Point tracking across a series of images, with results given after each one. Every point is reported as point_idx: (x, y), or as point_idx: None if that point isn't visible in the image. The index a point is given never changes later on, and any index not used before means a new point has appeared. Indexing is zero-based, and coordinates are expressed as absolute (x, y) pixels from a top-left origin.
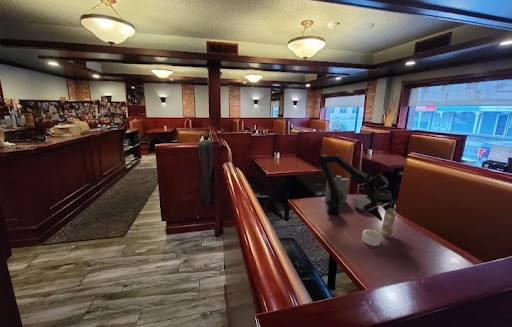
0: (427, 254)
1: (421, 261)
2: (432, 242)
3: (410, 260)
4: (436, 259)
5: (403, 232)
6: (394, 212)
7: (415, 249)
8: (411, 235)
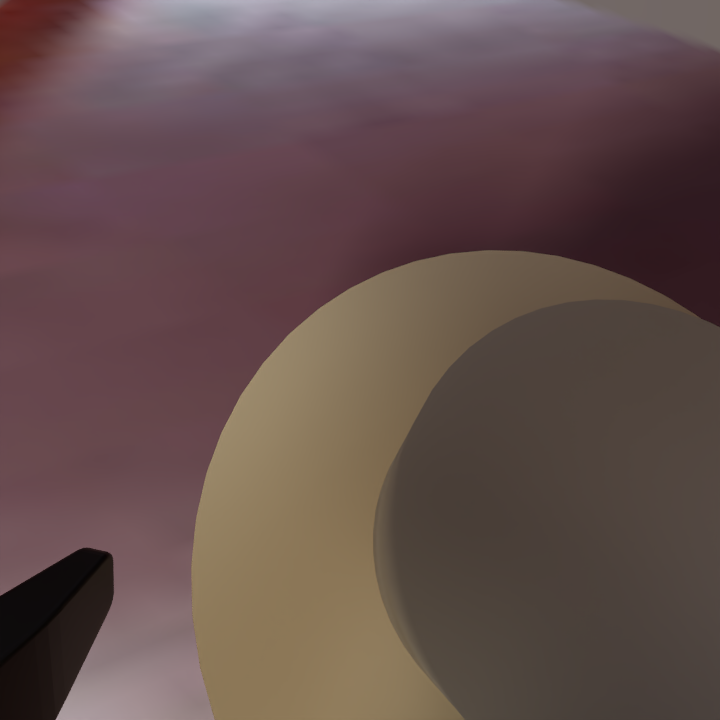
0: (415, 92)
1: (602, 102)
2: (83, 106)
3: (690, 167)
4: (434, 30)
5: (56, 410)
6: (393, 353)
7: (421, 186)
8: (74, 305)
